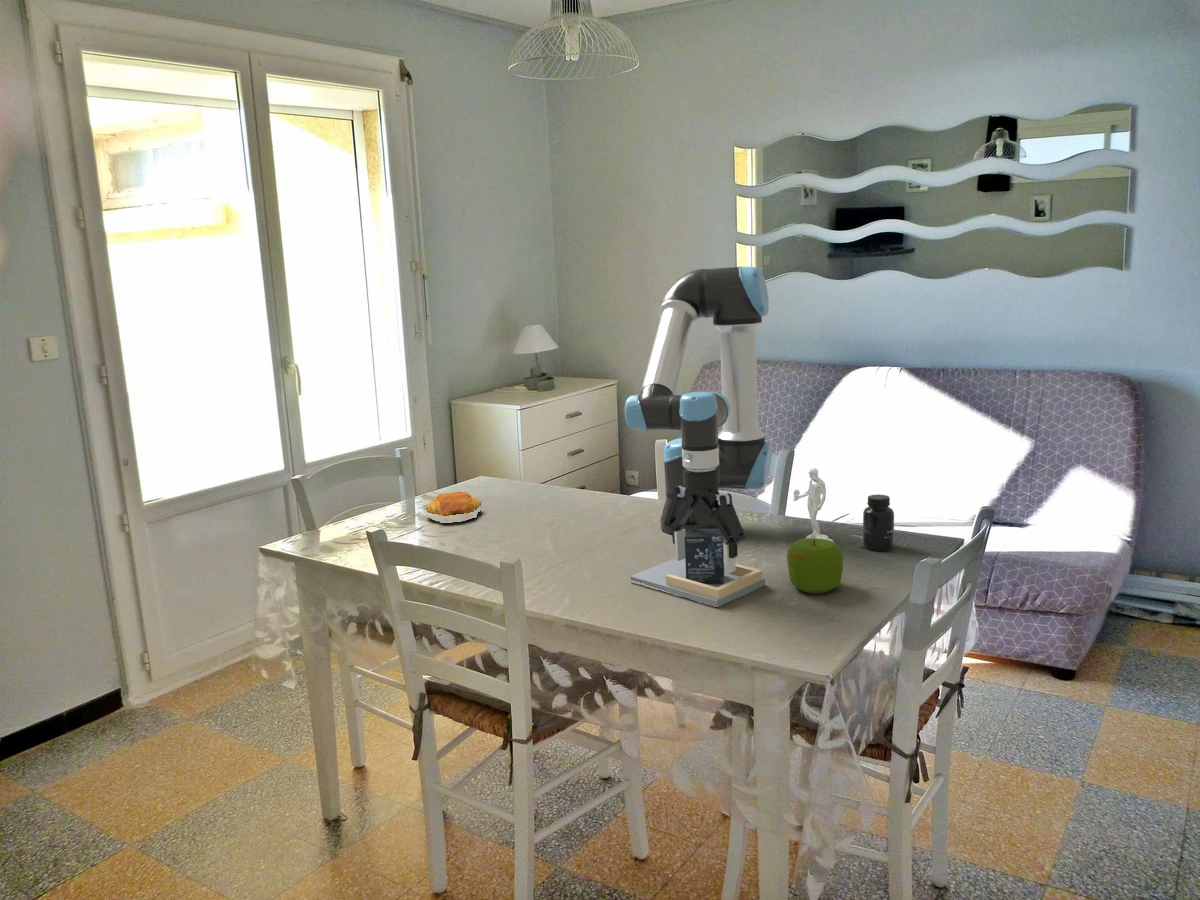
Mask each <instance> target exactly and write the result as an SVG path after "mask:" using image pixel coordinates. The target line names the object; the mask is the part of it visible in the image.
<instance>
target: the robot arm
mask: <svg viewBox="0 0 1200 900" xmlns="http://www.w3.org/2000/svg"><path fill="white" fill-rule="evenodd" d="M764 276H765V275H764V274H763V272H762V271H761V270H760V268H758V267H755V266H742V265H741V266H736V267H735V266H733V267H718V268H717V267H715V268H698V269H694V270H691V271H689V272H687V273H685V274H683V275H682V276H681V277H679V278H678V279H677V280H676V281H674V282H673V283H672V285H671V286H669V288H668V289H667V291H666V292H665V293H664V295H663V297H662V299H661V301H660V304H659V306H658V311H657V317H658V320H659V323H658V326H657V330H656V333H655V338H654V341H653V345H652V349H651V352H650V356H649V360H648V362H647V366H646V369H645V374H644V377H643V382H642V385H641V389H640V393H639V394H633V395H629V396H628V398H627V399H626V400H625V404H624V419H625V422H626V425H627V426H628V427H629V428H630V429H631V430H640V431H641V430H643V431H654V430H655V431H658V430H661V431H662V430H674V431H680V435H681V436H680V437H679V438H674V439H672V440H670V441H668V442H667V443H666V444H665V446H664V447H663V460H662V461H663V467H664V484H665V485H664V486H665V502H664V505H663V508H662V513H661V516H660V529H662V530H661V531H663V530H664V531H666V532H668V533H667V534H669V533H672V534H671V535H672V543H673V545H674V553H675V554H674V555H675V558H676V561H680V560H683V559H685V534H686V529H719V530H720V532H721V533H722V535H723V539H724V540H725V542H723V551H724V569H725V574H729V573H731V572H734V571H736V564H737V563H736V558H737V557H738V553H739V552H738V543H739V542H741V541H744V540H746V537H747V536H746V534H745V532H744V529H743V527H742V524H741V522H740V519H739V517H738V514H737V511H736V510H735V506H734V504H733V498H732V494H731V493H729V492H728V493H725V494H720V492H719V489H720V490H721V489H722V490H723V489H724V490H728V489H729V490H745V491H748V490H761V489H763V488H764V487H765V486H766V484H767V482H768V479H769V476H770V470H771V465H772V456H773V455H772V454H773V449H772V447H773V446H772V443H770V442H769V441H766V437H765V435H766V434H765V433H764V432H763V431H762V430H761V429H760V428H759V415H758V413H759V411H758V409H759V407H758V405H759V403H758V379H757V378H758V374H757V373H758V371H757V370H758V369H757V364H758V363H757V332H756V331H757V330H758V328H759V327H760V326H761V324H763V320H762V319H763V317H765V316H767V315H768V313H769V310H770V309H769V296H768V295H769V293H768V288H767V287H768V286H767V283H766V280H765V279H766V278H765V277H764ZM701 318H706V319H707V318H708V319H709V318H712V326H713V327H714V328H715V329H717V330H718V333H719V343H720V344H719V346H720V347H719V348H720V373H721V375H720V376H721V378H720V380H721V393H719V392H717V391H692V392H689V393H684V394H675V393H676V389H677V385H678V381H679V378H680V374H681V370H682V366H683V361H684V357H685V354H686V349H687V345H688V342H689V337H690V333H691V329H692V328H693V327H695V326H696V324H697V323H698V322H697V321H698V319H701ZM720 427H722V430H721V431H720V432H719V429H720ZM664 531H663V532H664ZM666 532H665V533H666ZM675 558H674V559H675Z"/></svg>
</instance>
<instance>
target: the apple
mask: <svg viewBox="0 0 1200 900" xmlns="http://www.w3.org/2000/svg"><path fill="white" fill-rule="evenodd" d="M834 542H835V541H834ZM834 542H832V541H829V540H825V539H817V538H806V539H805V538H801V539H798V540H795V541H794V542H793V543H791V545H790V546H789V547H788V550H787V554H786V562H787V570H788V575H789V576H788V577H789V581H790V583H791V585H792V586H794V587H796V588H797V589H798V590H800V591H801V592H804V593H807V594H813V595H819V594H820V595H821V594H825V593H828V592H829V591H831V590H834V589H835V588H837V587H839V586H840V585H841V584H842V583H841V582H842V577H843V576H842V575H843V572H844V554H843V551H842V548H841V547H840V546H839V545H837V544H836V542H835V543H834Z"/></svg>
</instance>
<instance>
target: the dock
mask: <svg viewBox="0 0 1200 900" xmlns="http://www.w3.org/2000/svg"><path fill="white" fill-rule="evenodd" d="M631 580H633V581H636V582H640V583H644V584H646V585H649V586H652V587H655V588H658V589H662V590H664V591H667V592H670V593H673V594H676V595H679V596H682V597H685V598H689V599H692V600H695V601H698V602H702V603H706V604H709V605H712V606H715V607H718V606H720V605H723V604H725V603H727V602H729V603H731V602H733V601H735V600H737V599H739V598H742V597H744V596H745V595H748V594H750V593H752V592H754V591H755V590H758V589H760V588H762V587H765V586H766V578H764V577H763V570H762V569H759V568H758V569H757V568H755V567H750V566H745V565H742V564H738V563H736V571H734V572H731V573H729V574H725V569H724V581H723V584H719V583H700V582H696V581H692V580H689V579H686V560H685V559H683V560H680V561H676V558H672V559H670V560H668V561H665V562H663V563H660V564H657V565H655V566H652V567H650V568H647V569H645V570H643V571H640V572H638V573H636V574H633V575H631V576H630V581H631ZM736 598H737V599H736ZM734 599H735V600H734ZM732 600H733V601H732ZM730 601H731V602H730ZM727 604H728V603H727ZM725 605H726V604H725ZM723 606H724V605H723ZM720 607H721V606H720ZM718 608H719V607H718Z"/></svg>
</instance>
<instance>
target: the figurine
mask: <svg viewBox="0 0 1200 900" xmlns="http://www.w3.org/2000/svg"><path fill="white" fill-rule="evenodd" d="M808 475H809V478H810V481H809V485H808V489H807V490H806V492H804V493H802V494H801V495H800V492H801V491H800V490H799V489H795V490H794V491H793V498H794V499H792V500H793V502H797V501H798V500H799V499H802V498H805V497H807V510H808V513H809V518H810V525H811V529H812V533H811V534H808V535H807V536H806V538H817V539H825V540H829V541H832V542H834V543H835V544H836V542H835V540H834V539H831V538H829V536H828V535H826V534H822V533H821V529H820V523H819V521H818V519H817V515H818V512H819V511H821V509H822V507H823V505H824V503H825V501H826V498H827V487H826V483H825V481H824V480H823V479H822V478H821V477H819V470H818V469H817V468H811V469H809V470H808ZM821 496H822V497H821ZM806 538H804V539H806Z"/></svg>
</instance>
